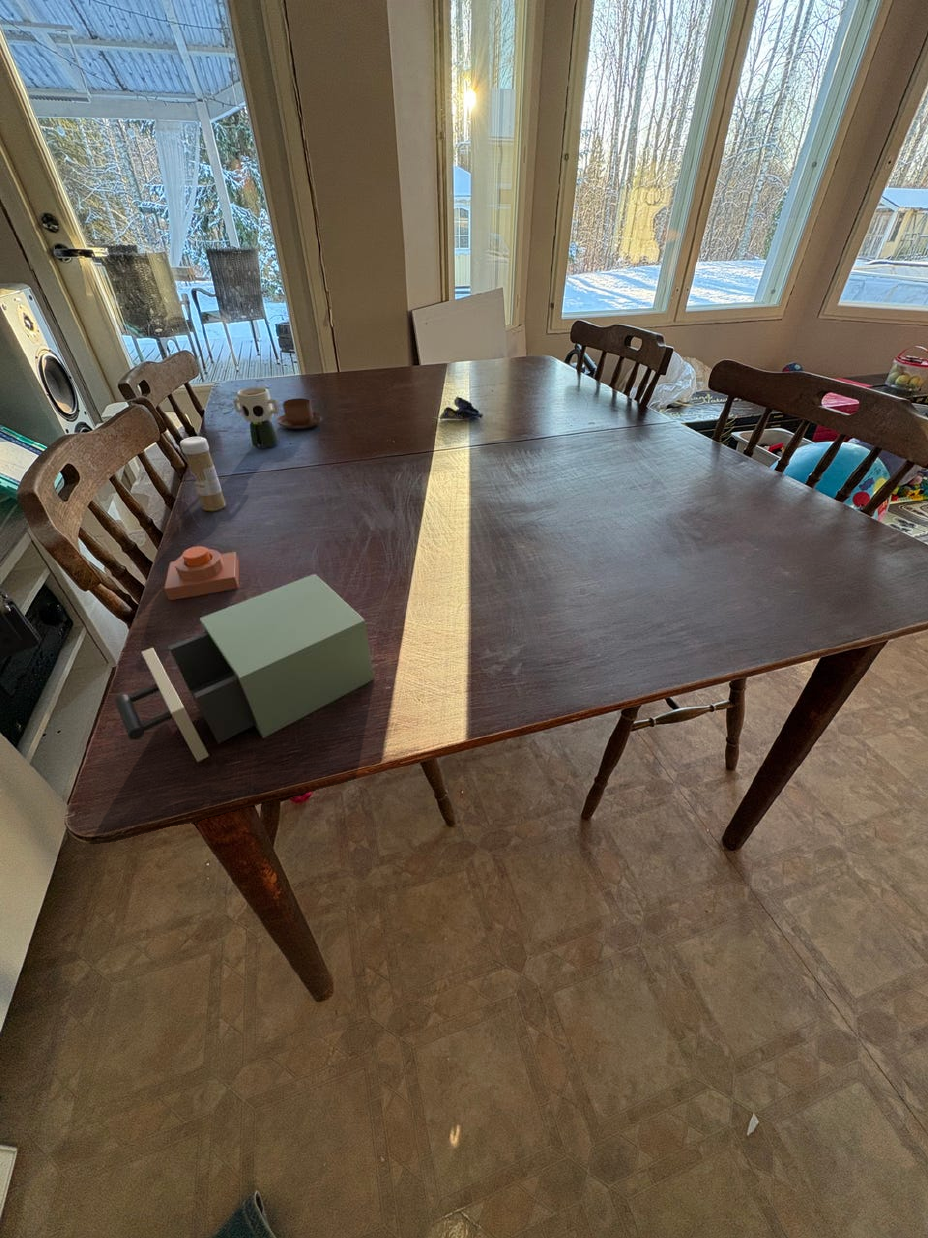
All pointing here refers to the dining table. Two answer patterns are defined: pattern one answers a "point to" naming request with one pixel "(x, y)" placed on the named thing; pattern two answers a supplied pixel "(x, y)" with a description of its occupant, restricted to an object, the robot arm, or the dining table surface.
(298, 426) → the cup and saucer
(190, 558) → the button
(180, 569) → the control block
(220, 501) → the sprinkles bottle
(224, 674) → the fryer drawer
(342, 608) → the fryer
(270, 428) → the character mug
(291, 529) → the dining table surface
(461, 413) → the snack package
